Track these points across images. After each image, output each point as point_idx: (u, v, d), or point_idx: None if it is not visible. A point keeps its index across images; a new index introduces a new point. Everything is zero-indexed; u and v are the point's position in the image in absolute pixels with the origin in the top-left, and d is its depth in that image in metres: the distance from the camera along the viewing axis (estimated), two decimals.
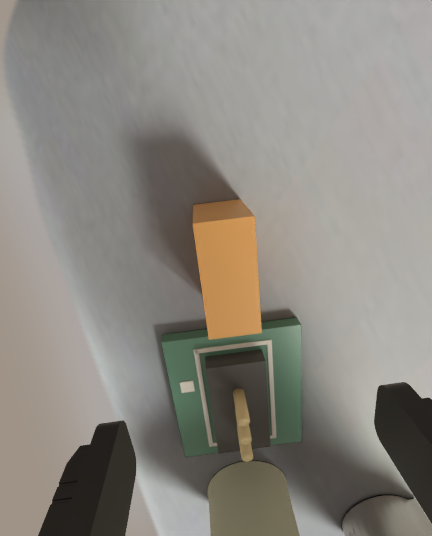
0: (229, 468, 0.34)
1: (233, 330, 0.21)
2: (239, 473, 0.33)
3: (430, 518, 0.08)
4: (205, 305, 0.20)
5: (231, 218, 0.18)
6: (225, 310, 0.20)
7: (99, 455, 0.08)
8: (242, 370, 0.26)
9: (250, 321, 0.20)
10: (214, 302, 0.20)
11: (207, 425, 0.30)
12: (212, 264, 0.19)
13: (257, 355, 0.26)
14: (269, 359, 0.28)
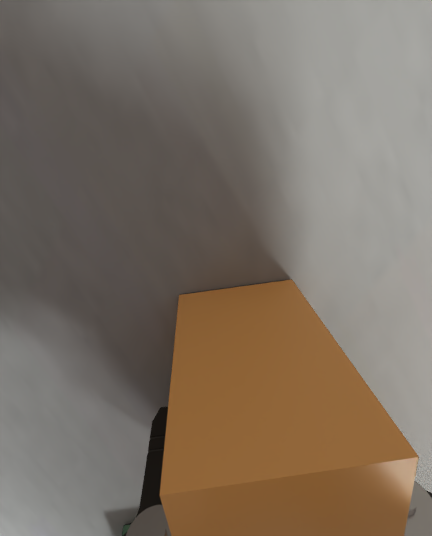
0: None
1: None
2: None
3: None
4: None
5: (319, 460, 0.04)
6: None
7: None
8: None
9: None
10: None
11: None
12: None
13: None
14: None
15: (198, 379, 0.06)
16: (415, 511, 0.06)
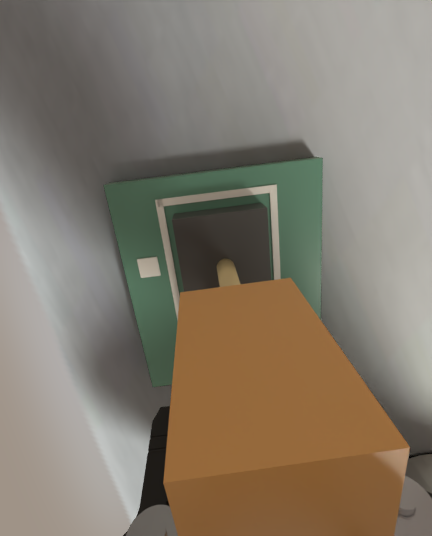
0: None
1: None
2: None
3: None
4: None
5: (315, 450, 0.05)
6: None
7: None
8: (230, 225, 0.16)
9: None
10: None
11: None
12: None
13: (254, 206, 0.17)
14: (273, 221, 0.18)
15: (199, 374, 0.06)
16: (415, 511, 0.06)
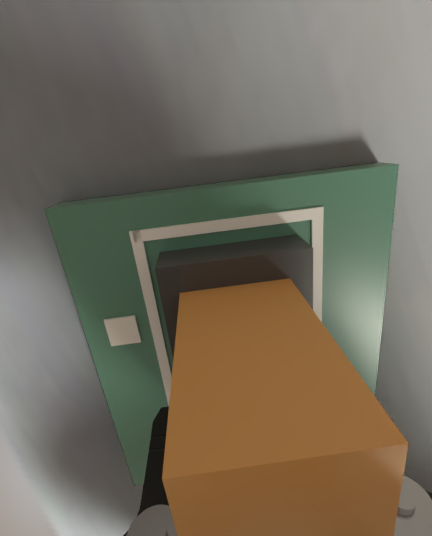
0: None
1: None
2: None
3: None
4: None
5: (314, 446, 0.05)
6: None
7: None
8: (252, 275, 0.10)
9: None
10: None
11: None
12: None
13: (289, 242, 0.10)
14: (315, 262, 0.12)
15: (198, 372, 0.06)
16: (414, 511, 0.06)
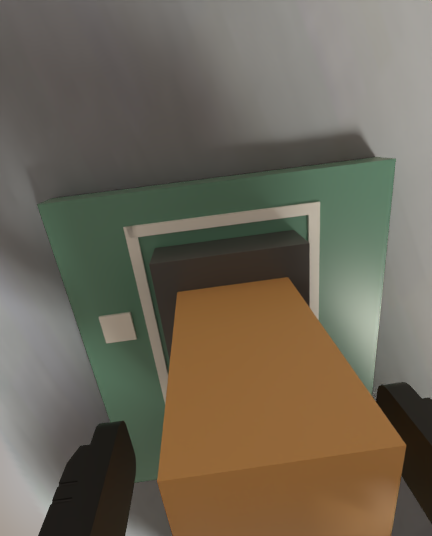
0: None
1: None
2: None
3: (430, 518, 0.08)
4: None
5: (311, 448, 0.05)
6: None
7: (99, 455, 0.08)
8: (247, 271, 0.10)
9: None
10: None
11: None
12: None
13: (285, 237, 0.10)
14: (311, 257, 0.11)
15: (195, 373, 0.06)
16: None
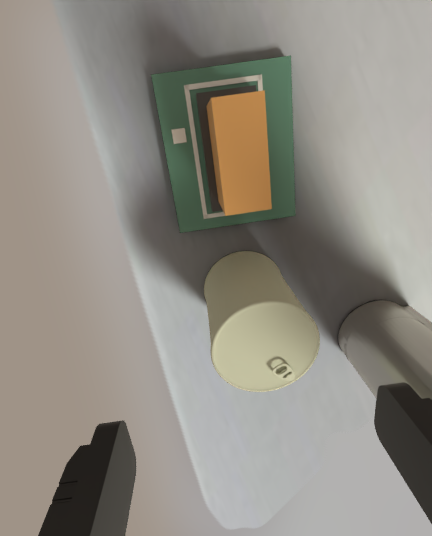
0: (224, 257, 0.34)
1: (246, 206, 0.24)
2: (234, 257, 0.33)
3: (430, 518, 0.08)
4: (222, 180, 0.23)
5: (244, 93, 0.21)
6: (239, 185, 0.23)
7: (99, 455, 0.08)
8: None
9: (261, 197, 0.23)
10: (230, 177, 0.23)
11: (201, 189, 0.30)
12: (228, 139, 0.22)
13: None
14: None
15: None
16: None
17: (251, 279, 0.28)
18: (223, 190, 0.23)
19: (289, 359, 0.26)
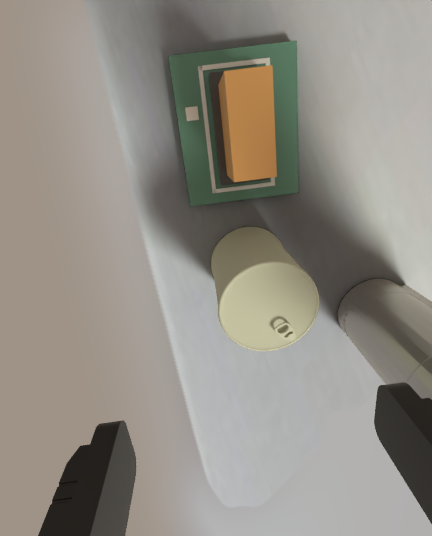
0: (231, 232, 0.36)
1: (254, 173, 0.26)
2: (240, 231, 0.35)
3: (430, 518, 0.08)
4: (232, 148, 0.25)
5: (254, 68, 0.23)
6: (248, 154, 0.25)
7: (99, 455, 0.08)
8: None
9: (267, 165, 0.26)
10: (239, 146, 0.25)
11: (211, 165, 0.32)
12: (238, 109, 0.24)
13: None
14: None
15: None
16: None
17: (256, 247, 0.30)
18: (233, 157, 0.25)
19: (290, 319, 0.28)
